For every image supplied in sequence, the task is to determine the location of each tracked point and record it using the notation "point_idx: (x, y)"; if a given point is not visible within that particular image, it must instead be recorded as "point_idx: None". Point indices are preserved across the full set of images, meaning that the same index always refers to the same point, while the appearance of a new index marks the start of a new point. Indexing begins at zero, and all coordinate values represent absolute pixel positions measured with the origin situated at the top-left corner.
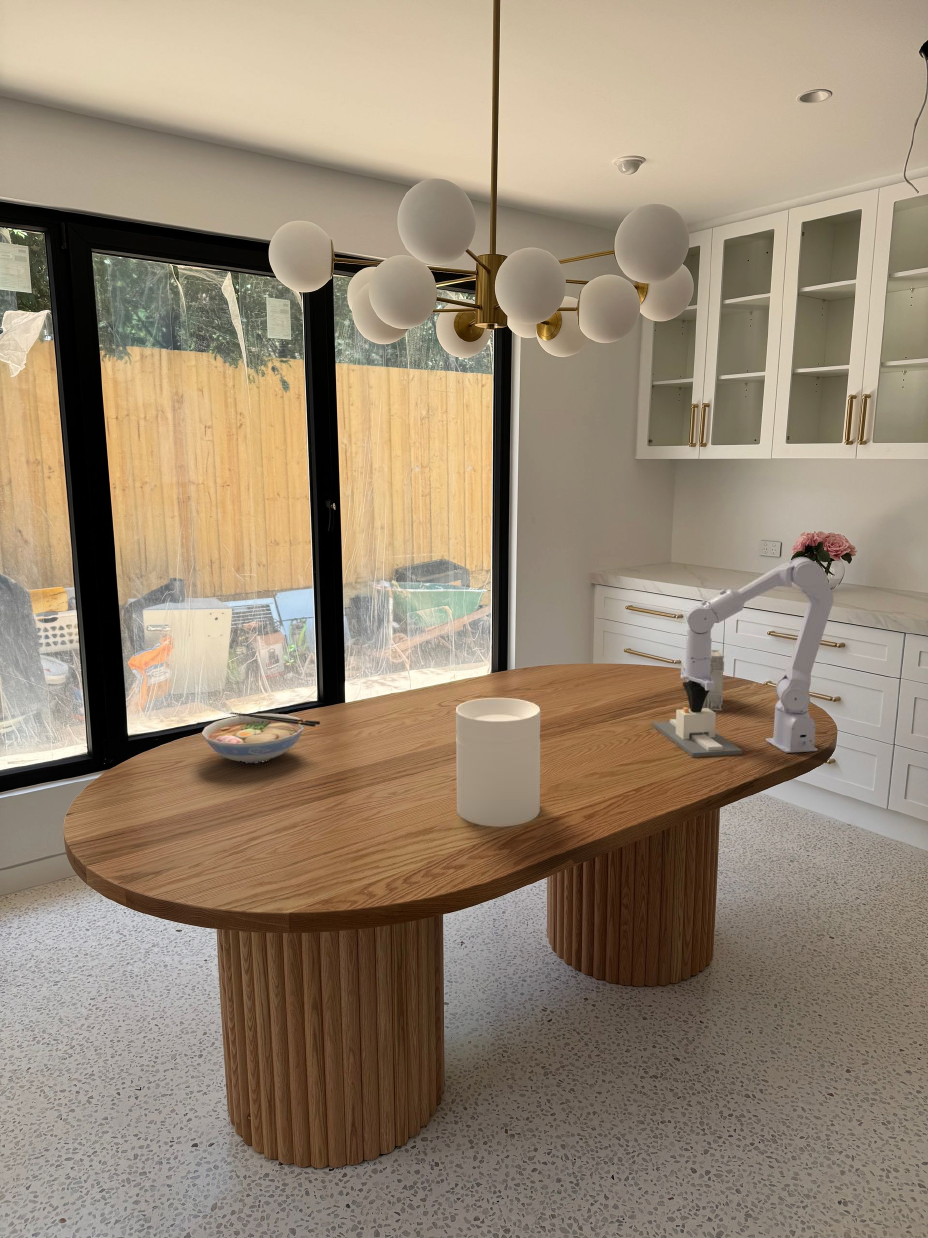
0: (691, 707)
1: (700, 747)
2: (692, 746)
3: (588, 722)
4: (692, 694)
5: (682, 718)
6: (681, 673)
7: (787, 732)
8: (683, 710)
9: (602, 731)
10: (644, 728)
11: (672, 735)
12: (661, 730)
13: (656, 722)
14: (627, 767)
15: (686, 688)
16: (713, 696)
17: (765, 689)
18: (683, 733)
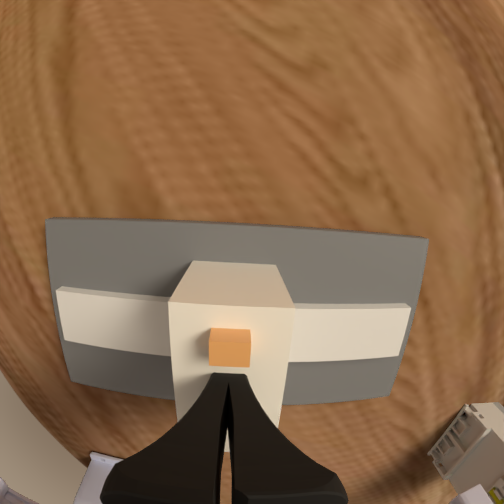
0: (217, 385)
1: (90, 277)
2: (103, 254)
3: (476, 61)
4: (150, 445)
5: (195, 292)
6: (479, 500)
7: (94, 491)
8: (237, 333)
9: (399, 38)
10: (407, 193)
11: (252, 238)
12: (344, 231)
13: (422, 252)
14: (53, 9)
15: (251, 469)
16: (456, 459)
17: (450, 500)
18: (188, 268)
